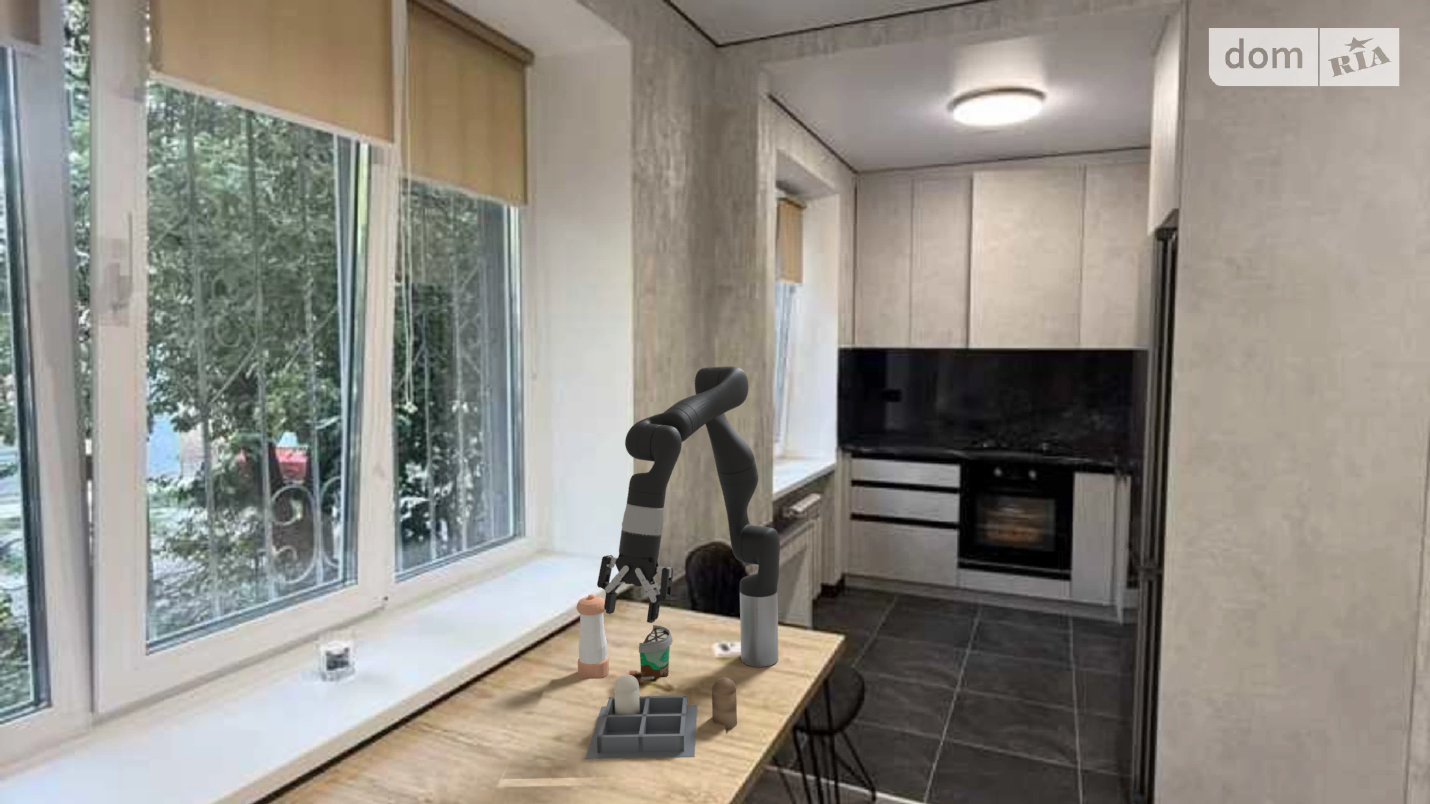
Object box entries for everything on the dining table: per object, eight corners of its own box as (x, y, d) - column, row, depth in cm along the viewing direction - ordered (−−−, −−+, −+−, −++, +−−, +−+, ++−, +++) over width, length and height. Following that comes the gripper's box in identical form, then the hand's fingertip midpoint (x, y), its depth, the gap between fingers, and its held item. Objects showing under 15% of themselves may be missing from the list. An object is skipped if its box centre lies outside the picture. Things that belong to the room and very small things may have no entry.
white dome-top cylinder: (617, 714, 156) (615, 670, 155) (641, 714, 156) (639, 670, 155) (613, 726, 151) (612, 681, 150) (638, 726, 151) (637, 680, 150)
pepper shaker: (572, 677, 177) (569, 597, 175) (588, 665, 183) (586, 588, 182) (599, 681, 174) (596, 601, 172) (614, 669, 181) (612, 591, 179)
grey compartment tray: (601, 710, 160) (601, 692, 159) (697, 709, 160) (696, 690, 159) (585, 763, 139) (584, 743, 139) (694, 761, 139) (694, 741, 139)
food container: (665, 688, 170) (664, 645, 169) (639, 686, 171) (638, 643, 170) (679, 665, 182) (678, 625, 181) (654, 663, 183) (653, 624, 182)
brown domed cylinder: (712, 717, 156) (711, 673, 155) (736, 717, 156) (735, 672, 155) (712, 729, 151) (711, 684, 150) (737, 729, 151) (736, 683, 150)
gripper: (684, 535, 141) (673, 622, 140) (617, 523, 146) (606, 607, 145) (668, 537, 134) (656, 629, 133) (598, 525, 139) (586, 613, 138)
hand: (630, 617), depth 139 cm, fingers open, 8 cm apart
